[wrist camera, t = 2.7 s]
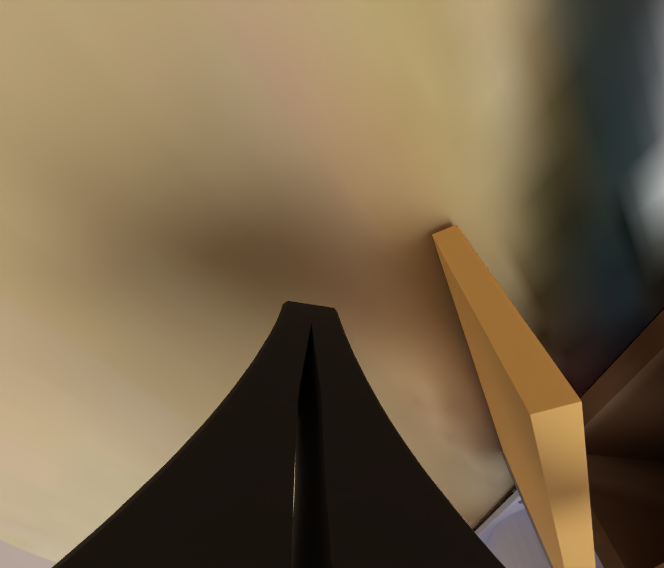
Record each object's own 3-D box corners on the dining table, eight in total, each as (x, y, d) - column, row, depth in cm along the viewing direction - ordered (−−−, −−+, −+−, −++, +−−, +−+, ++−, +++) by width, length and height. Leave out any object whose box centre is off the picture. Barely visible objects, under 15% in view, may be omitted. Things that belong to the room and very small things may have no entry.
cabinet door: (523, 455, 19) (603, 624, 13) (504, 459, 19) (575, 627, 14) (459, 223, 11) (588, 399, 6) (428, 235, 11) (523, 415, 6)
